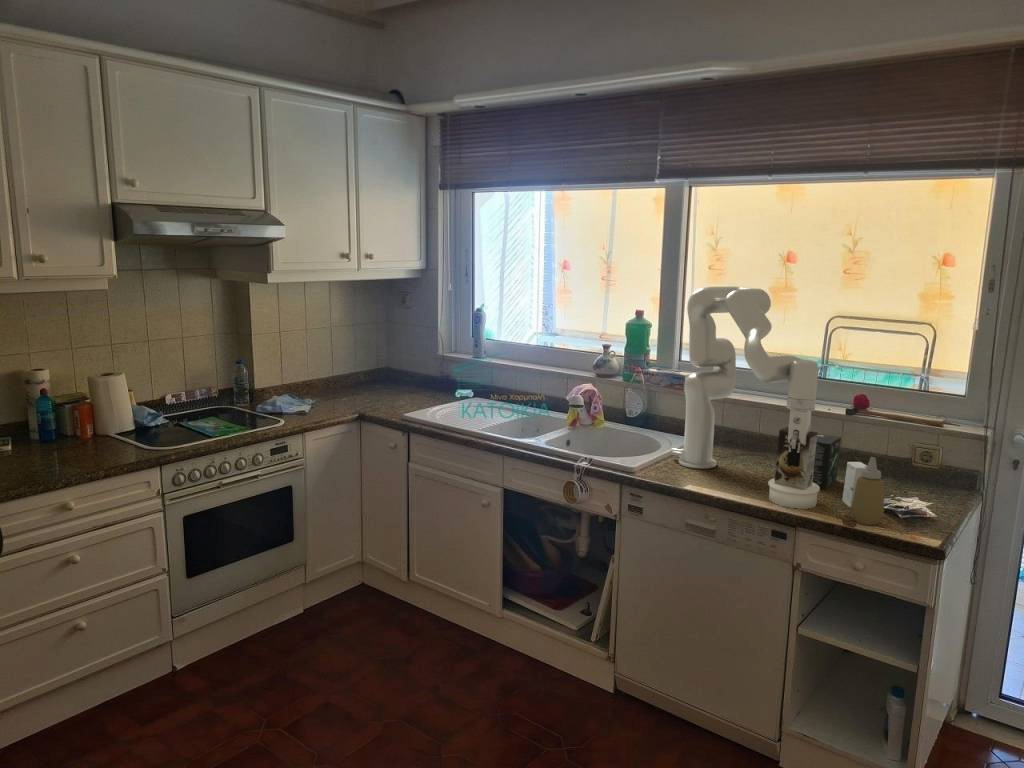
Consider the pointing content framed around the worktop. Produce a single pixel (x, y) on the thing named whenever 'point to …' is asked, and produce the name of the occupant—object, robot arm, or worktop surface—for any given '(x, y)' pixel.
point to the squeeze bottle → (869, 496)
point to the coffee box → (792, 474)
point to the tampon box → (826, 460)
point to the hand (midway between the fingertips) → (795, 461)
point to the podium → (793, 495)
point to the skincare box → (852, 480)
